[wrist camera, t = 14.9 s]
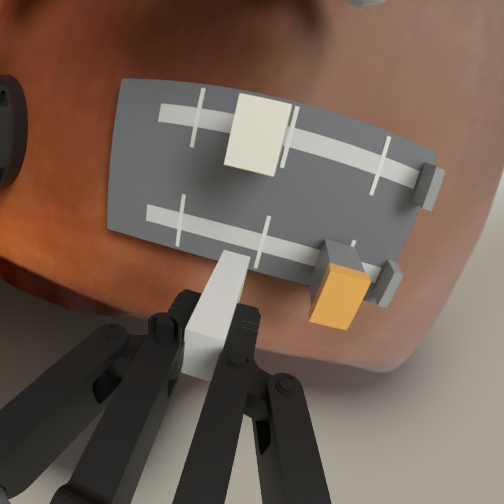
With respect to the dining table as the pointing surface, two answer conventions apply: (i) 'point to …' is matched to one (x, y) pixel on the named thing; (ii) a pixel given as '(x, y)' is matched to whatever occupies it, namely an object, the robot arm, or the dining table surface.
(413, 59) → the dining table surface
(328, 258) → the fader orange
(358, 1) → the mug
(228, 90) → the console
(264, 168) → the fader cream
